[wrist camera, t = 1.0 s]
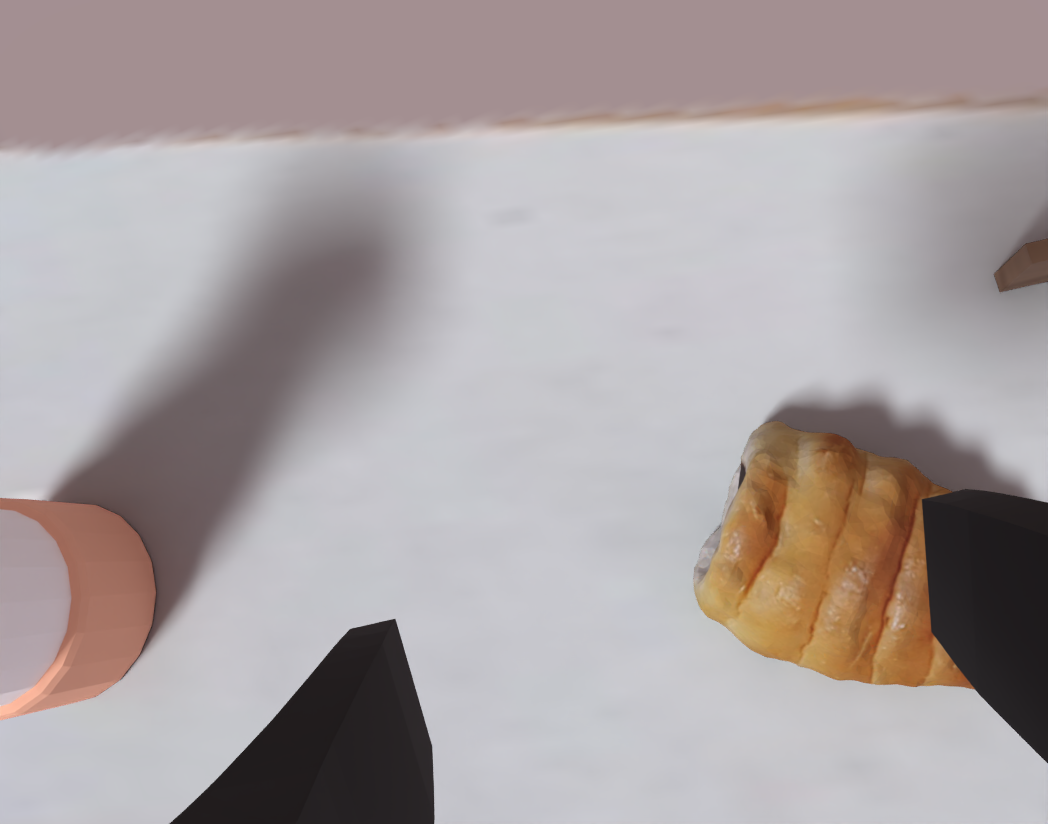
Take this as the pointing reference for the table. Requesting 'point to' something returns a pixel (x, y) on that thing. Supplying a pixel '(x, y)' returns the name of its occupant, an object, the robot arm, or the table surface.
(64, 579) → the pepper shaker
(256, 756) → the robot arm
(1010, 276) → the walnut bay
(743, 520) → the pastry
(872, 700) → the table surface
